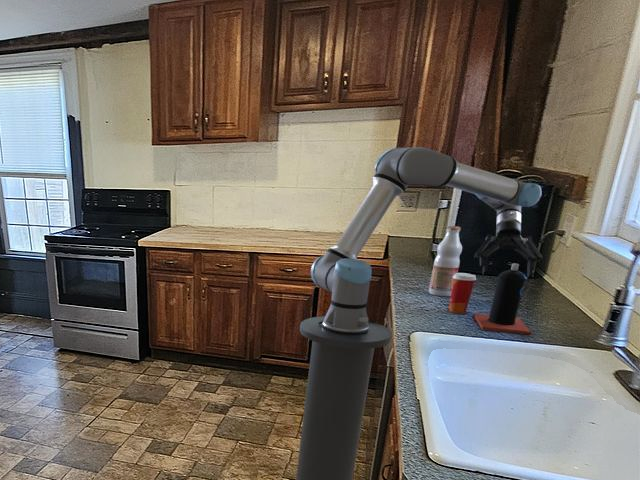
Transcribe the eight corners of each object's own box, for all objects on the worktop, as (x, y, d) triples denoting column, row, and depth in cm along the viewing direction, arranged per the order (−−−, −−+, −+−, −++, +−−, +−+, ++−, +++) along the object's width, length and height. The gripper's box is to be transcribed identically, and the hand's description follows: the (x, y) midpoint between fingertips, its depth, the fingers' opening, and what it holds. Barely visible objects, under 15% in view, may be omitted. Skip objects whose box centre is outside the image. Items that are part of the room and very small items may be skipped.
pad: (481, 329, 177) (482, 326, 176) (473, 315, 192) (474, 313, 192) (530, 334, 172) (531, 331, 172) (518, 320, 188) (518, 317, 187)
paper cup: (457, 308, 202) (465, 272, 197) (473, 313, 195) (482, 276, 190) (440, 309, 200) (448, 273, 195) (456, 315, 193) (464, 277, 188)
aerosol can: (493, 324, 179) (508, 265, 172) (483, 318, 186) (496, 261, 179) (519, 325, 178) (535, 266, 170) (508, 319, 185) (522, 262, 178)
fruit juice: (423, 291, 228) (436, 225, 218) (443, 291, 229) (457, 225, 219) (437, 297, 219) (451, 228, 209) (457, 296, 220) (472, 228, 210)
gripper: (472, 218, 192) (469, 266, 184) (553, 221, 184) (553, 272, 176) (467, 231, 198) (463, 278, 191) (544, 235, 190) (544, 284, 182)
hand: (506, 275), depth 183 cm, fingers open, 13 cm apart
